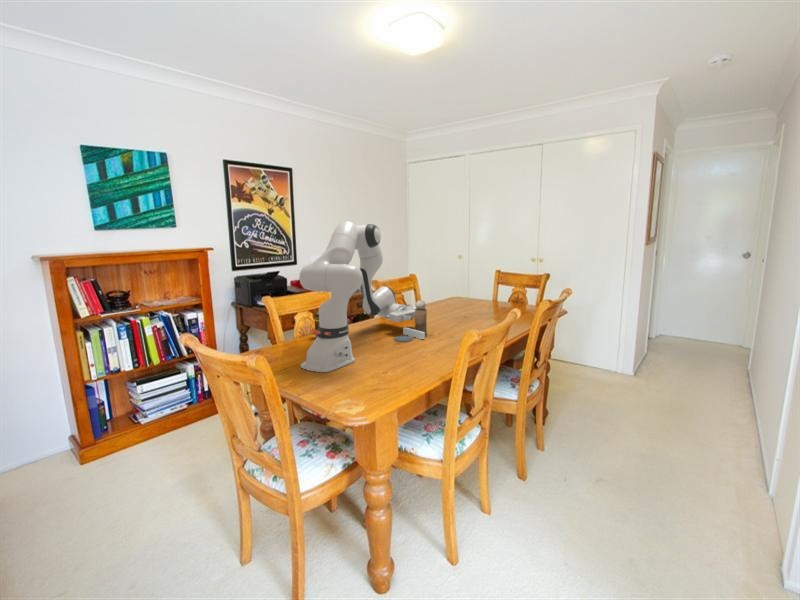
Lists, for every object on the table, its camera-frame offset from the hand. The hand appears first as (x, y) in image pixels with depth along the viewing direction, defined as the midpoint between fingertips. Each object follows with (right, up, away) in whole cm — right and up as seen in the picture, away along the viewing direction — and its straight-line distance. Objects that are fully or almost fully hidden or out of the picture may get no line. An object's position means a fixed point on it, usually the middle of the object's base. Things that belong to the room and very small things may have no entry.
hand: (418, 316), depth 196 cm
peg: (+1, -9, 0) cm, 9 cm away
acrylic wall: (-2, -10, -3) cm, 10 cm away
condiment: (-47, -10, 0) cm, 48 cm away
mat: (-7, -10, -7) cm, 14 cm away
